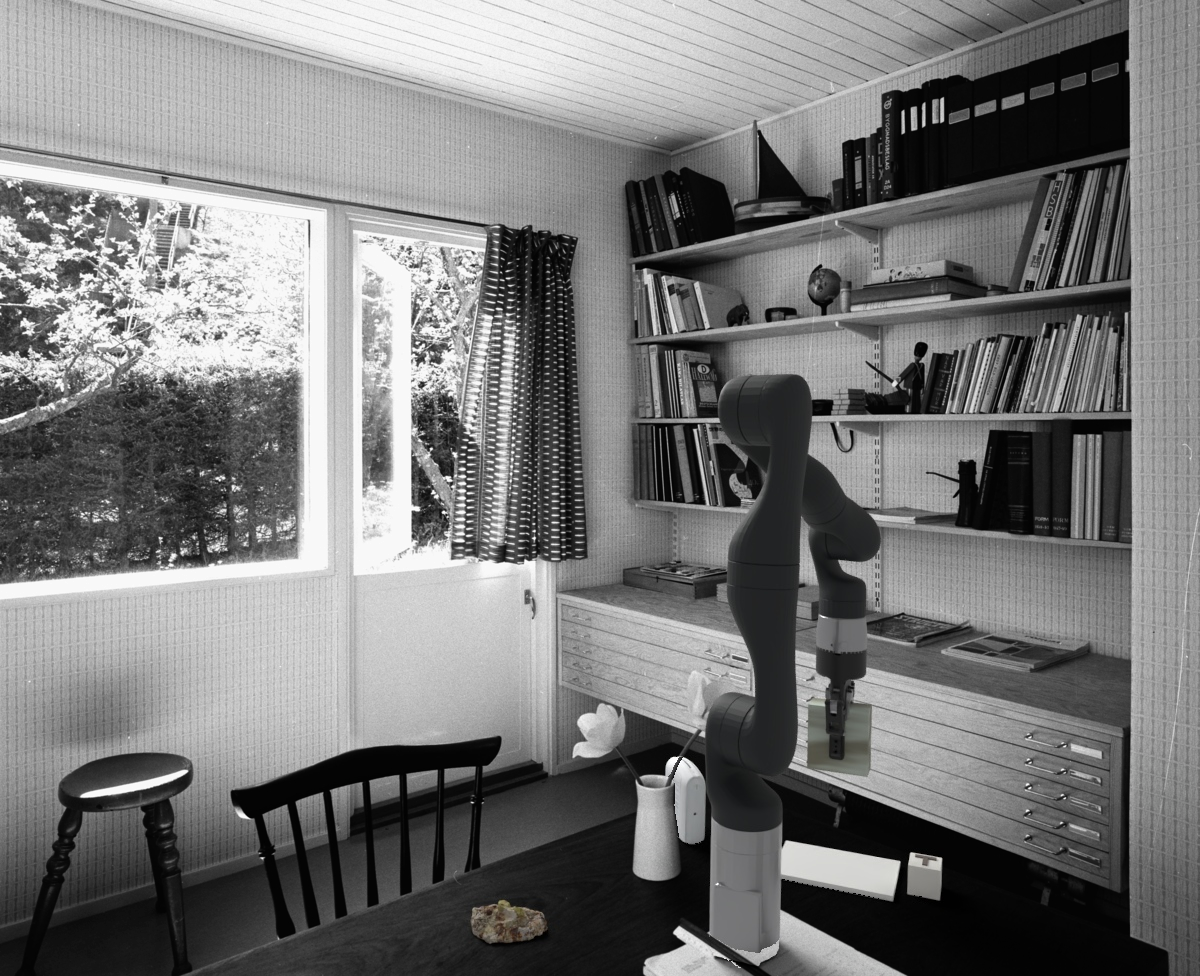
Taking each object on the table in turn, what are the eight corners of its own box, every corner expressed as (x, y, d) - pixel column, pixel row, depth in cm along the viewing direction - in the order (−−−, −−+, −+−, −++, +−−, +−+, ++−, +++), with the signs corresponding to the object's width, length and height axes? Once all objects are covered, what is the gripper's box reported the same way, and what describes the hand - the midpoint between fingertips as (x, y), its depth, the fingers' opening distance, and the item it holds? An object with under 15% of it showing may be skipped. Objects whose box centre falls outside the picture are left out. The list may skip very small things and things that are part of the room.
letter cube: (939, 900, 132) (940, 869, 132) (907, 894, 134) (908, 863, 134) (941, 887, 137) (942, 856, 136) (909, 881, 138) (910, 851, 138)
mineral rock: (461, 929, 120) (476, 884, 127) (462, 954, 121) (477, 909, 129) (541, 938, 118) (552, 892, 126) (541, 964, 120) (552, 917, 127)
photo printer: (708, 843, 151) (709, 770, 150) (684, 846, 149) (685, 772, 149) (684, 818, 160) (685, 749, 160) (661, 821, 159) (662, 751, 158)
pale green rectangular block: (867, 777, 136) (868, 711, 136) (807, 768, 140) (808, 704, 139) (870, 768, 140) (872, 704, 140) (811, 759, 144) (812, 697, 143)
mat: (892, 901, 132) (893, 896, 132) (770, 877, 139) (770, 872, 139) (900, 866, 143) (900, 861, 143) (786, 845, 150) (786, 840, 150)
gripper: (824, 633, 147) (821, 737, 148) (808, 651, 134) (805, 765, 135) (872, 637, 144) (869, 743, 145) (860, 656, 131) (857, 773, 132)
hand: (838, 753), depth 140 cm, fingers closed on pale green rectangular block, 4 cm apart
